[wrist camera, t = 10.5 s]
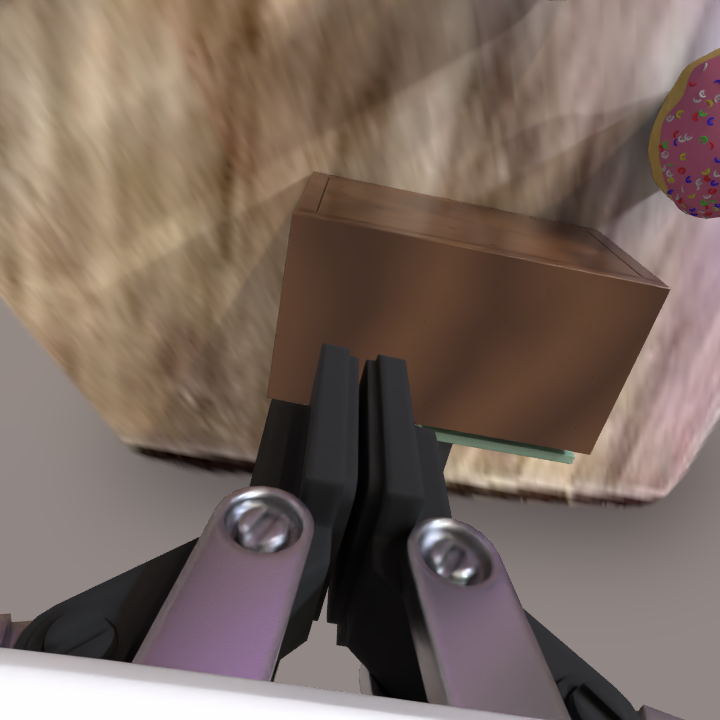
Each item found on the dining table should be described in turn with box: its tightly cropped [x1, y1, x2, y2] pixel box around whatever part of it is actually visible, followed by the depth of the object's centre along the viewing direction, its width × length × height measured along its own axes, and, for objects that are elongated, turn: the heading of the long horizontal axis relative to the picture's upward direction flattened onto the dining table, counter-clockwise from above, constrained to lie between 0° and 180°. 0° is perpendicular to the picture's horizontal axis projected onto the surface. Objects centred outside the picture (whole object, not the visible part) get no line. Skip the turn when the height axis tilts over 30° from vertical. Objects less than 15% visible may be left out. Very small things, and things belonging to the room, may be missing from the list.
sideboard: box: [267, 172, 670, 455], centre depth 33 cm, size 18×10×10 cm, turn 79°
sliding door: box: [418, 424, 575, 471], centre depth 37 cm, size 9×6×8 cm, turn 79°
